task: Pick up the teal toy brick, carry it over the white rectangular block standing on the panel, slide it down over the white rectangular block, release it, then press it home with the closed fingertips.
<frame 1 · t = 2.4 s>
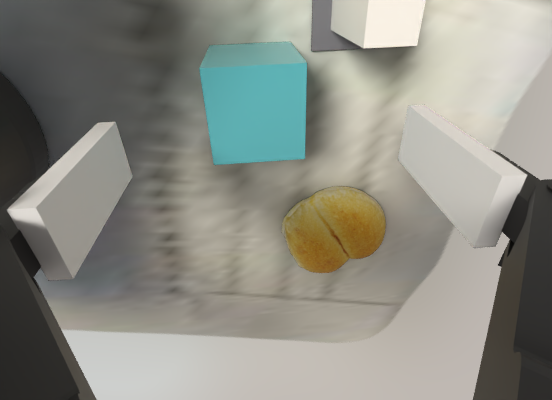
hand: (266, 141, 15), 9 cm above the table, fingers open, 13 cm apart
white rectangular block: (351, 5, 21), resting on panel
panel: (351, 5, 21), on the table
teal toy brick: (252, 84, 23), on the table
bread roll: (328, 221, 31), on the table
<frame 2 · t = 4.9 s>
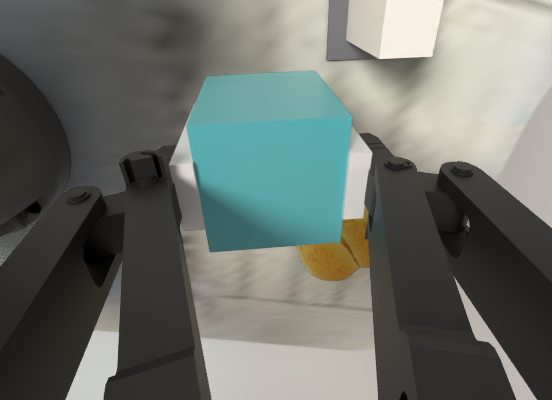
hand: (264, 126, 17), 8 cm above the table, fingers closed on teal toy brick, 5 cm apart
white rectangular block: (367, 16, 21), resting on panel
panel: (367, 16, 21), on the table
teal toy brick: (264, 125, 17), point 7 cm above the table, touching gripper
bread roll: (339, 230, 31), on the table
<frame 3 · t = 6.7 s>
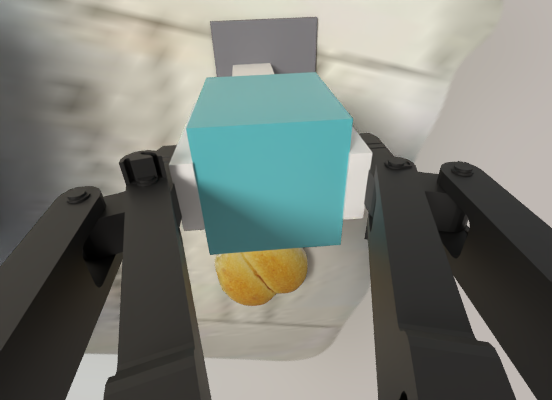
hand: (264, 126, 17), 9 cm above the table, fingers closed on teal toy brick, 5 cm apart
white rectangular block: (252, 82, 24), resting on panel
panel: (252, 82, 24), on the table
teal toy brick: (264, 127, 17), point 8 cm above the table, touching gripper
bread roll: (260, 258, 34), on the table
when the fingers open (1 cm above the table, at t = 8.6 s): teal toy brick stays where it is, resting on white rectangular block.
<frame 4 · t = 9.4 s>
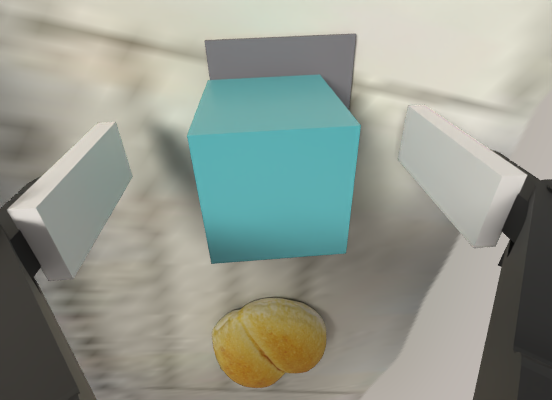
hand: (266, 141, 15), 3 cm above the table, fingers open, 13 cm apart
panel: (263, 121, 18), on the table
teal toy brick: (266, 130, 17), point 1 cm above the table, touching white rectangular block
bread roll: (267, 326, 28), on the table
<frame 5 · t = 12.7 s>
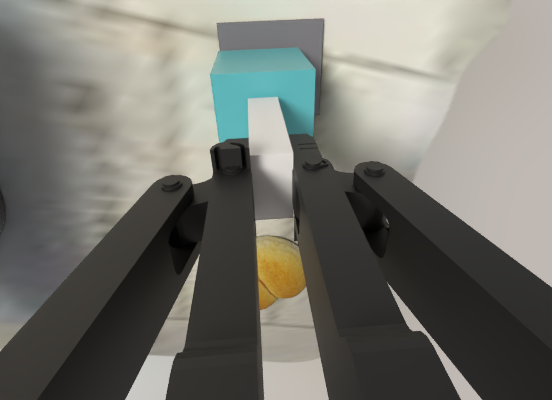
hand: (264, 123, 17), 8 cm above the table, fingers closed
panel: (258, 83, 24), on the table
teal toy brick: (260, 89, 23), point 1 cm above the table, touching white rectangular block
bread roll: (262, 263, 34), on the table
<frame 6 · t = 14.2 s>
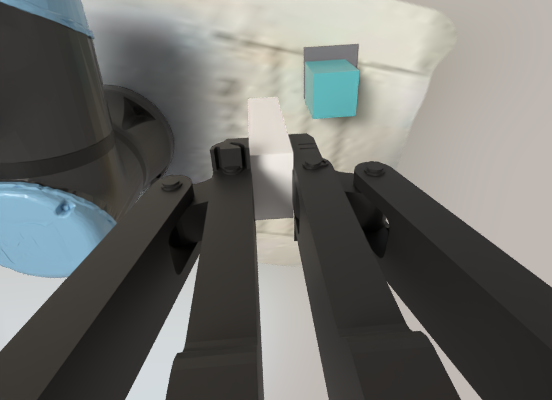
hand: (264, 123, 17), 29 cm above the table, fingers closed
panel: (322, 78, 45), on the table
teal toy brick: (324, 81, 44), point 1 cm above the table, touching white rectangular block
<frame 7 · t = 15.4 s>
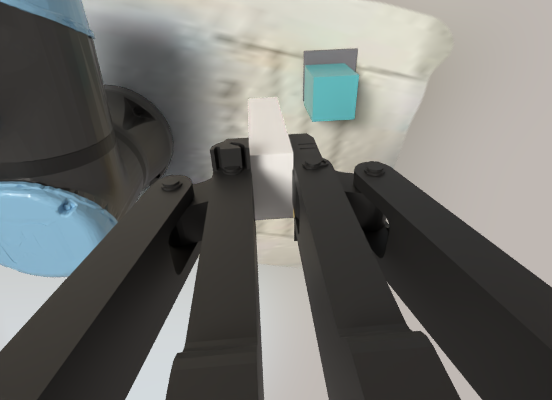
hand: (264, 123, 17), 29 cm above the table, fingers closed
panel: (321, 81, 45), on the table
teal toy brick: (323, 84, 44), point 1 cm above the table, touching white rectangular block
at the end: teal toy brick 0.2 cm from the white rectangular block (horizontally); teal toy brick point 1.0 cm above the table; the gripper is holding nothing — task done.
